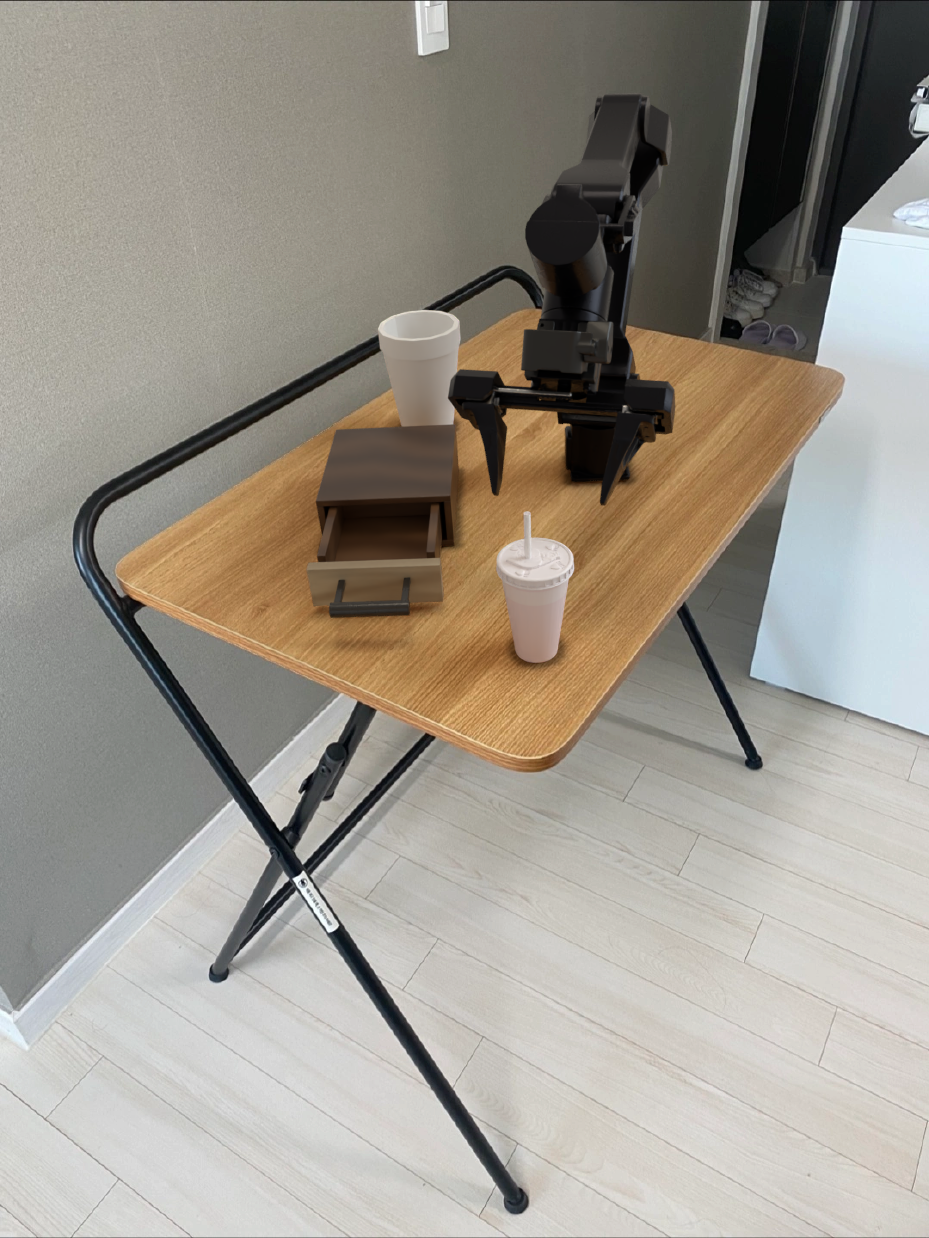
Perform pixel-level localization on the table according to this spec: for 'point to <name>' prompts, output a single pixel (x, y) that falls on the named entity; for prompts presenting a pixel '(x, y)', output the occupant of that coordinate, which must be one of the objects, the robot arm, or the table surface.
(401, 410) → the foam cup
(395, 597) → the drawer
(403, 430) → the cabinet
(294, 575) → the table surface
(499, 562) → the smoothie
